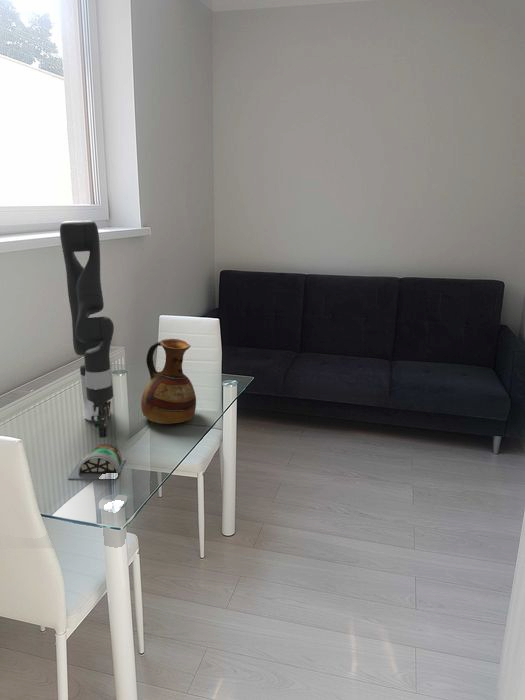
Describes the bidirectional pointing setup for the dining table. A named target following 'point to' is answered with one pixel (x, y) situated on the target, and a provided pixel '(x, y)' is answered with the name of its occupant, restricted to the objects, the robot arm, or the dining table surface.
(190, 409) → the ceramic pitcher
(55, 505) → the dining table surface
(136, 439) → the dining table surface
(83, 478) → the mat
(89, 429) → the dining table surface
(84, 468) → the food container
